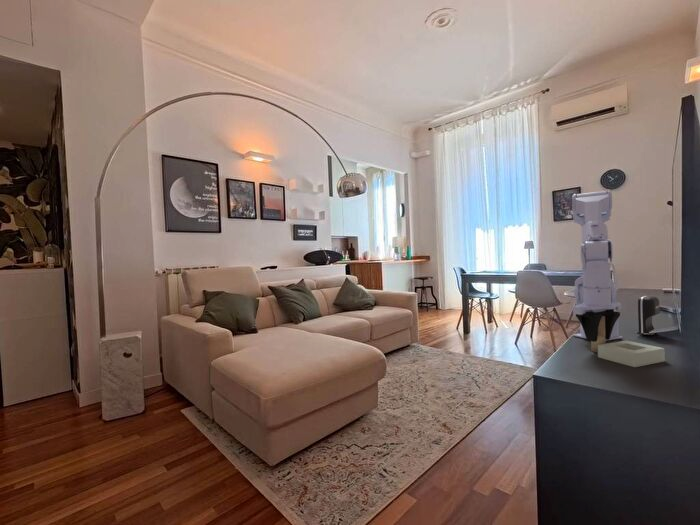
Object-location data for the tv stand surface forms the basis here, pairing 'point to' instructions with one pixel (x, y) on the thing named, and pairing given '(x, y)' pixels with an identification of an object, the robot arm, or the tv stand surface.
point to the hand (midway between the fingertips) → (598, 339)
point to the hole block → (631, 353)
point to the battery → (647, 313)
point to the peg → (599, 336)
